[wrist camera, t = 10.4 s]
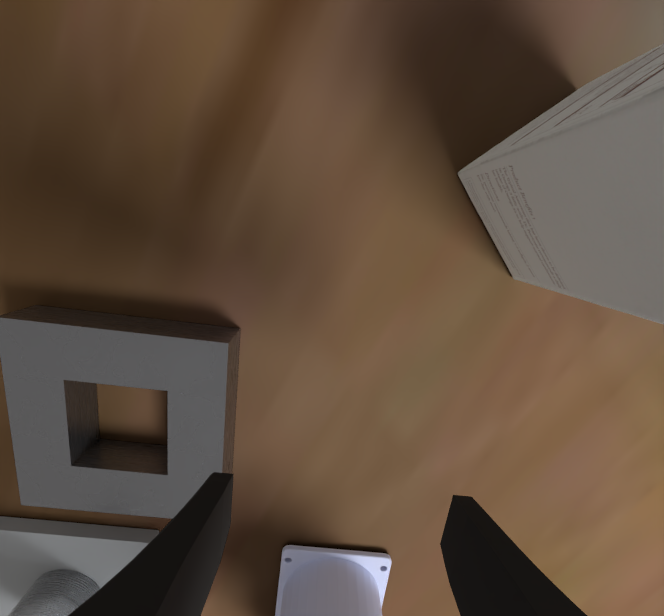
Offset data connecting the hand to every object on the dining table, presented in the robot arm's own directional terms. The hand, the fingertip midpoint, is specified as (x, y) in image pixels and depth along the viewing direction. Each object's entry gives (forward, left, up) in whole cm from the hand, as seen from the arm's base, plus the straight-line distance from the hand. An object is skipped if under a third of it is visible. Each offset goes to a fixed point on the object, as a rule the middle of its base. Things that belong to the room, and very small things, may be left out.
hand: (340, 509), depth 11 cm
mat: (-20, +17, -10) cm, 28 cm away
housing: (-4, +12, -10) cm, 16 cm away
